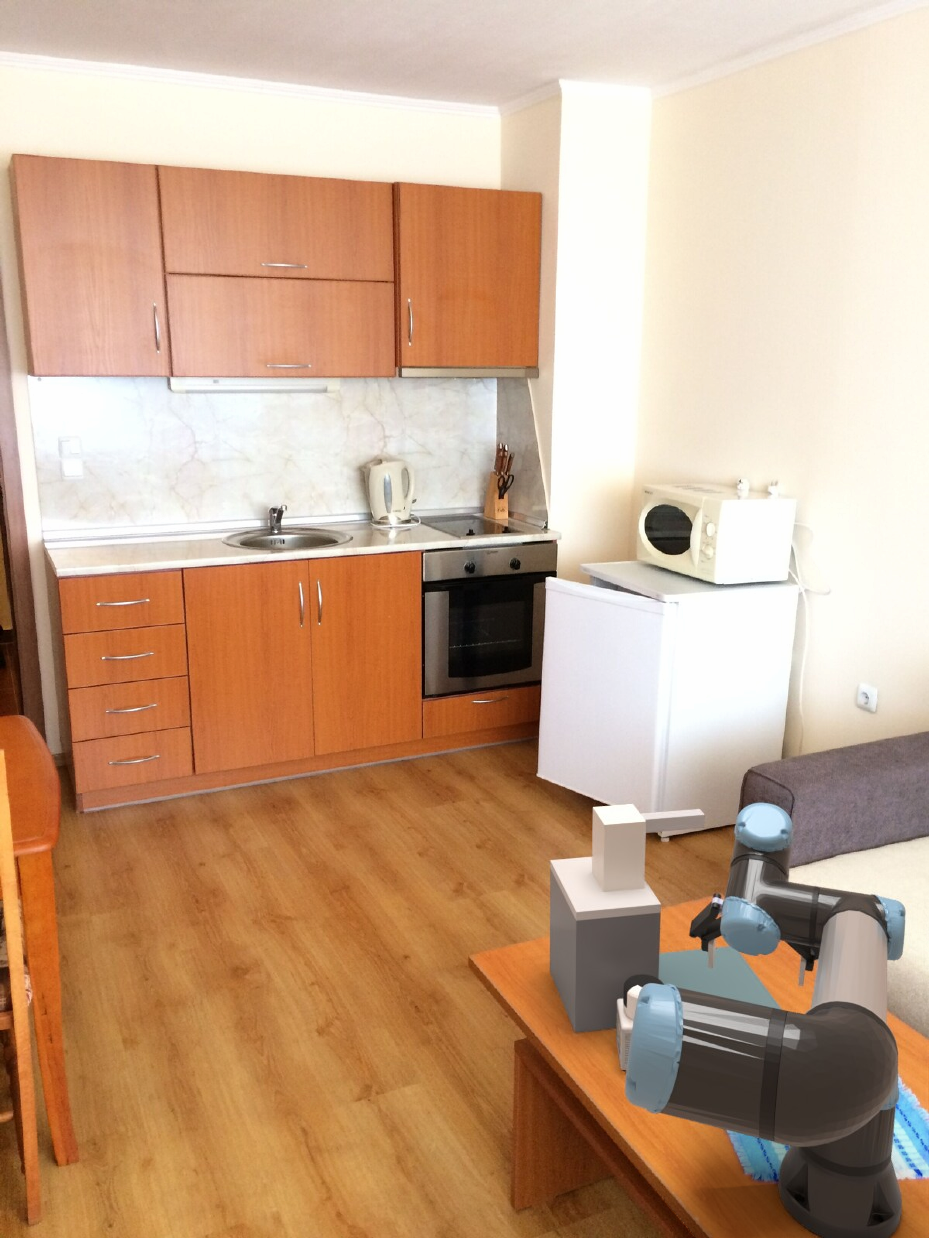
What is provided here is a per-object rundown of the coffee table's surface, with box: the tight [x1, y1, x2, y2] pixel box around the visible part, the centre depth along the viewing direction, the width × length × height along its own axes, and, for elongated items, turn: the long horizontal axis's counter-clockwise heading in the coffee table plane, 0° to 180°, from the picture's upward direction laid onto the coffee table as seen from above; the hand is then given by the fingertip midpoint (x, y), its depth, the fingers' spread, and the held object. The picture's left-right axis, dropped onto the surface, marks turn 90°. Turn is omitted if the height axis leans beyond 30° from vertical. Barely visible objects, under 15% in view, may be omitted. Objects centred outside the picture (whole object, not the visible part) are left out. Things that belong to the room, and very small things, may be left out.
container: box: [615, 974, 664, 1071], centre depth 163 cm, size 8×8×13 cm
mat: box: [659, 945, 783, 1010], centre depth 183 cm, size 20×20×1 cm
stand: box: [549, 856, 662, 1034], centre depth 177 cm, size 14×18×22 cm
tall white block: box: [591, 803, 706, 892], centre depth 175 cm, size 18×7×12 cm, turn 99°
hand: (755, 969), depth 163 cm, fingers open, 13 cm apart
